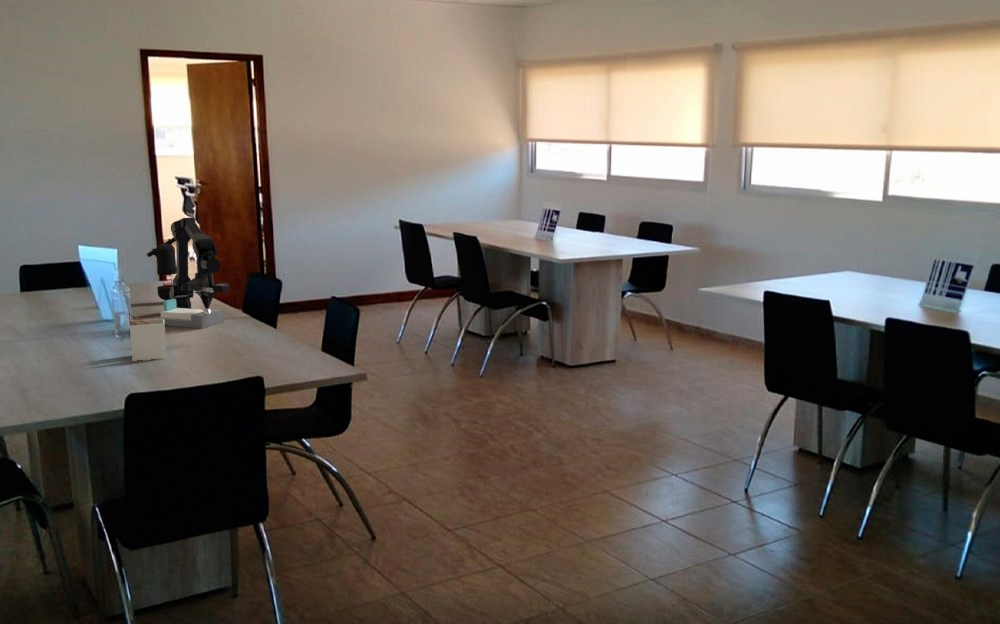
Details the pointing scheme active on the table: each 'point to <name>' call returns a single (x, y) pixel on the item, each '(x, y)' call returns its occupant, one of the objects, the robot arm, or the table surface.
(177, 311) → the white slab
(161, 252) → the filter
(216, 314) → the filter housing
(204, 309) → the release plunger
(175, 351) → the table surface
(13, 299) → the table surface
